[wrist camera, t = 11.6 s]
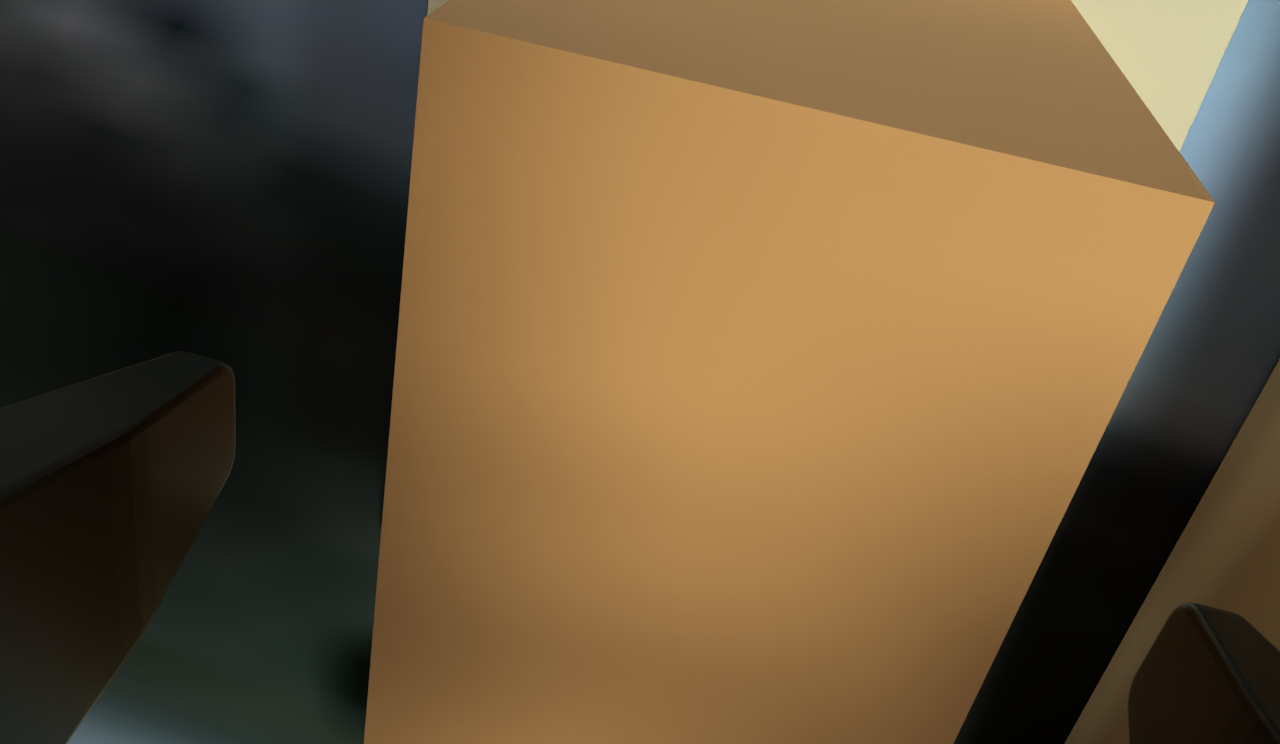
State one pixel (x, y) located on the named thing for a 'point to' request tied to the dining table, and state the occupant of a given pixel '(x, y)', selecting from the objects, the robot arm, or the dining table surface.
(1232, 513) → the arena
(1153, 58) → the pad
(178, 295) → the dining table surface
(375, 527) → the dining table surface
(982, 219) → the orange bar
